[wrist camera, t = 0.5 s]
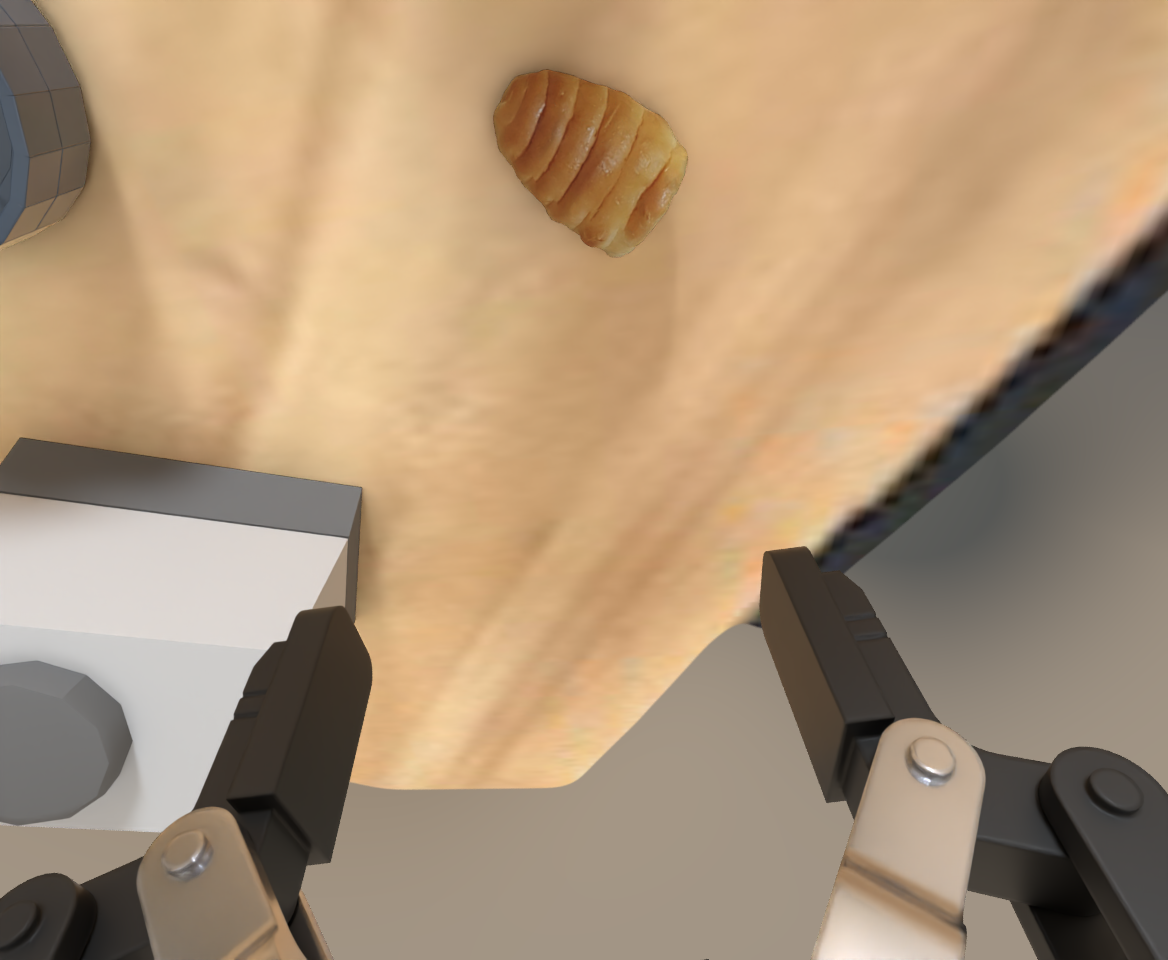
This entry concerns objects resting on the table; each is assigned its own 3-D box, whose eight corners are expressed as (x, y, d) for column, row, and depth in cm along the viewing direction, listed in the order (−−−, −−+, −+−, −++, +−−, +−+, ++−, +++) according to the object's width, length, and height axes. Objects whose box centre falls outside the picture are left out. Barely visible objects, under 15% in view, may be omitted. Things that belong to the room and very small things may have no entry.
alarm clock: (66, 590, 47) (-185, 896, 30) (10, 405, 38) (-385, 693, 22) (354, 621, 51) (270, 907, 34) (363, 459, 42) (256, 738, 26)
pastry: (470, 160, 32) (464, 174, 29) (537, 22, 29) (539, 21, 26) (621, 259, 36) (630, 281, 32) (696, 145, 33) (714, 157, 29)
